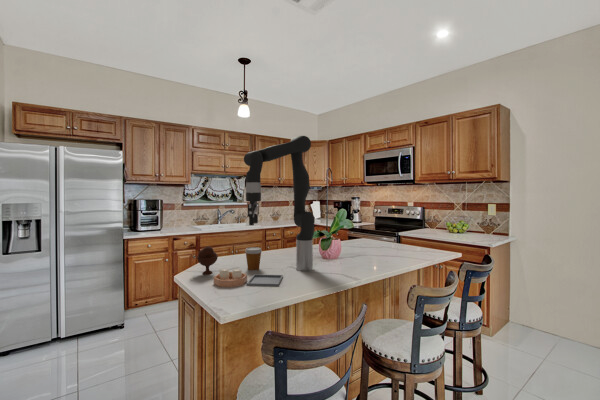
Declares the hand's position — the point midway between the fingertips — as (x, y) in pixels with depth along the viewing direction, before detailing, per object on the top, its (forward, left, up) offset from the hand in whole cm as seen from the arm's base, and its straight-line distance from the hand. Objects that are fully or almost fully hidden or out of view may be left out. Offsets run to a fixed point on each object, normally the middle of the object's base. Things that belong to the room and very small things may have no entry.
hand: (253, 224), depth 149 cm
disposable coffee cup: (-20, -5, -28) cm, 35 cm away
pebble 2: (+6, -7, -27) cm, 29 cm away
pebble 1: (+6, -13, -27) cm, 31 cm away
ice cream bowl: (-10, -28, -28) cm, 41 cm away
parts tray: (+3, +6, -28) cm, 29 cm away
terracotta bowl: (+6, -10, -28) cm, 30 cm away
